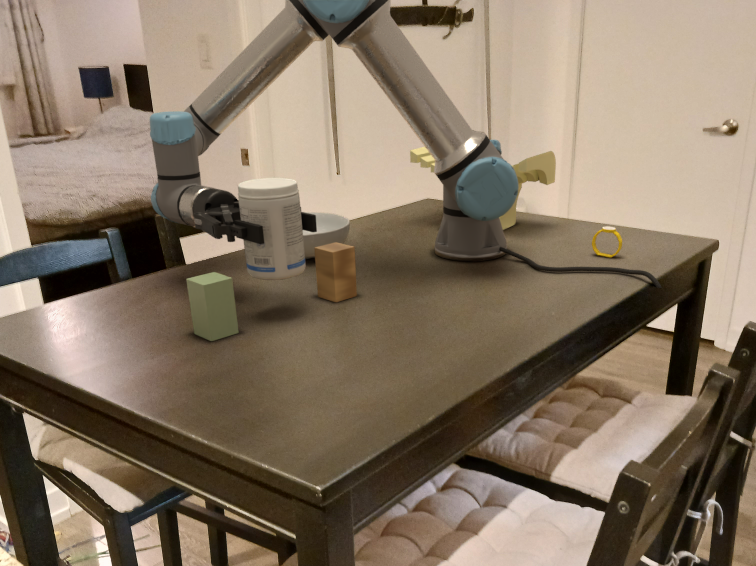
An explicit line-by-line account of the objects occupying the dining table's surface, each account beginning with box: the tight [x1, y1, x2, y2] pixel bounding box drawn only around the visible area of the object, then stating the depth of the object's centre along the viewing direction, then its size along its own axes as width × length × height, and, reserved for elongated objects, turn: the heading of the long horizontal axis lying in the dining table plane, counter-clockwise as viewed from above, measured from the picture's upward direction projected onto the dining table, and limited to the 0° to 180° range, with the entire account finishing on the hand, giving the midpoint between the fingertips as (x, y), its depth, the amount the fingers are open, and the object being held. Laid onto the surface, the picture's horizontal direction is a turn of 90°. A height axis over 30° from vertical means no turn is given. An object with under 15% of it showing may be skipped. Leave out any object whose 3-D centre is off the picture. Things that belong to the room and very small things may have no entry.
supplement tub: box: [237, 177, 307, 281], centre depth 122 cm, size 10×10×15 cm
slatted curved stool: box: [409, 146, 557, 231], centre depth 181 cm, size 30×16×18 cm, turn 57°
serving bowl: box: [303, 211, 351, 260], centre depth 162 cm, size 21×21×7 cm
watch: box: [591, 225, 623, 259], centre depth 156 cm, size 6×3×6 cm, turn 59°
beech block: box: [314, 242, 358, 303], centre depth 134 cm, size 5×5×9 cm
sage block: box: [185, 271, 239, 342], centre depth 118 cm, size 5×5×9 cm
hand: (288, 229), depth 119 cm, fingers closed on supplement tub, 10 cm apart
